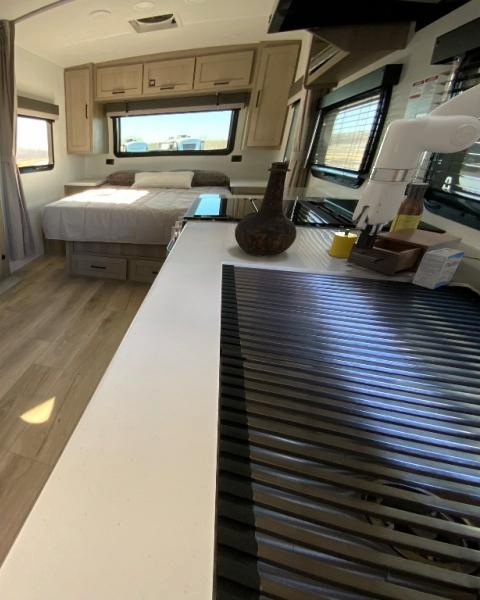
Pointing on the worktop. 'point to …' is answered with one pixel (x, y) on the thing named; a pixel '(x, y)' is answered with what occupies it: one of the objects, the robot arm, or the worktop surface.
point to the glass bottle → (268, 220)
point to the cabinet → (421, 241)
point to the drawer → (386, 256)
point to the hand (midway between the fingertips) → (363, 248)
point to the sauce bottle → (410, 208)
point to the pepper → (342, 244)
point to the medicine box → (437, 267)
